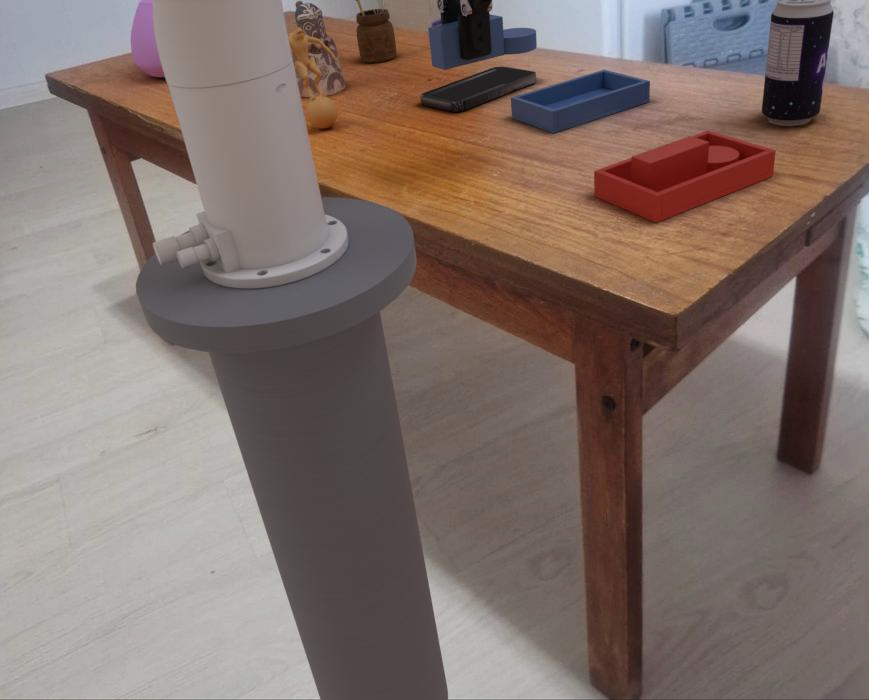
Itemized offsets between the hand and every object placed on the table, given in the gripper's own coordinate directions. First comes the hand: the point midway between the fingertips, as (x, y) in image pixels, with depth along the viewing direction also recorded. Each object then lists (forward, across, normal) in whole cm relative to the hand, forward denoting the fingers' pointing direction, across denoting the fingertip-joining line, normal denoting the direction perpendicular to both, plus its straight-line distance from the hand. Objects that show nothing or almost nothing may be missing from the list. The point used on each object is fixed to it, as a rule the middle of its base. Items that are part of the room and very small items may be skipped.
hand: (467, 53), depth 80 cm
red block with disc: (+11, +19, +11) cm, 24 cm away
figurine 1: (+11, -43, +1) cm, 45 cm away
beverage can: (+11, +14, +31) cm, 36 cm away
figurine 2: (+12, -27, -6) cm, 30 cm away
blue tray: (+11, -6, +19) cm, 23 cm away
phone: (+11, -22, +15) cm, 29 cm away
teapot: (+11, -77, -7) cm, 78 cm away
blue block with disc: (+1, 0, +2) cm, 2 cm away
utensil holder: (+11, -52, +15) cm, 55 cm away
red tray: (+11, +19, +11) cm, 25 cm away
